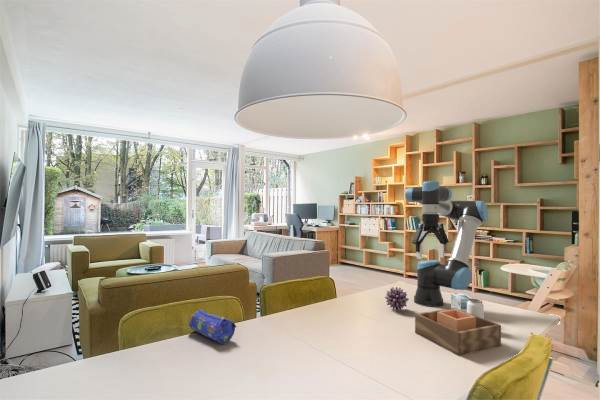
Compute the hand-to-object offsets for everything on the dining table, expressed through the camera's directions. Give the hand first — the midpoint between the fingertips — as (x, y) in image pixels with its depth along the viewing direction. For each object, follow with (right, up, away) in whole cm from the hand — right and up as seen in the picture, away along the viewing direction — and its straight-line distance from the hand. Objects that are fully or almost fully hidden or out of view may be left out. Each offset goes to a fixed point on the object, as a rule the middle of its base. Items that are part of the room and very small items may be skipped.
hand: (430, 258), depth 154 cm
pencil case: (-98, -28, -23) cm, 105 cm away
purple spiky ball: (-13, -29, +12) cm, 34 cm away
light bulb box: (+16, -29, +1) cm, 33 cm away
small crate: (+1, -27, -24) cm, 36 cm away
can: (+15, -29, -11) cm, 35 cm away
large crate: (+1, -28, -24) cm, 37 cm away
